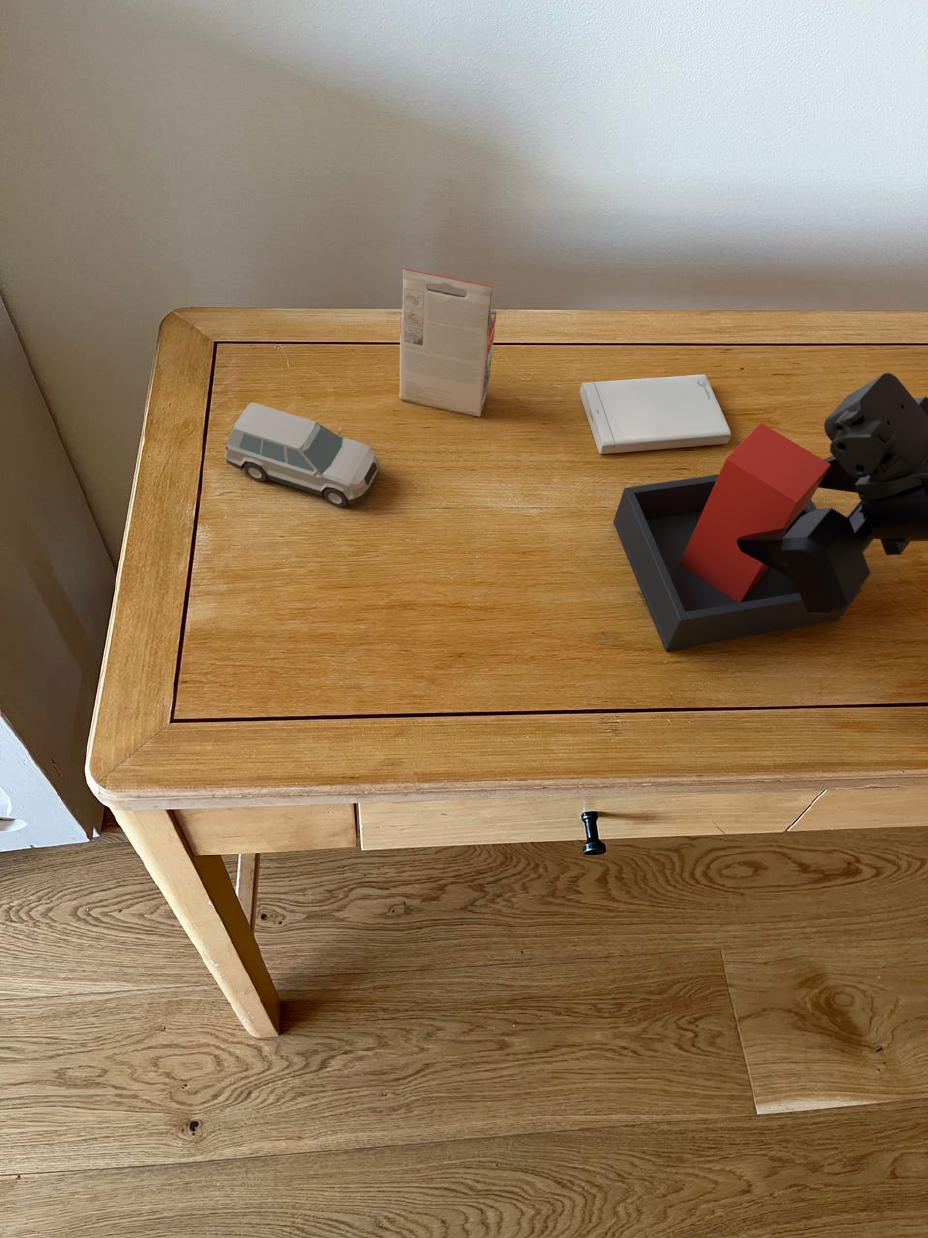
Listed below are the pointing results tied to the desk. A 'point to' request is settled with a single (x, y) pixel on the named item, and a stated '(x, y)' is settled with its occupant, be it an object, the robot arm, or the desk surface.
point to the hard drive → (653, 414)
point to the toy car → (301, 455)
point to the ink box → (445, 343)
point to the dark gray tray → (680, 599)
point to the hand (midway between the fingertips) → (770, 509)
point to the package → (751, 508)
